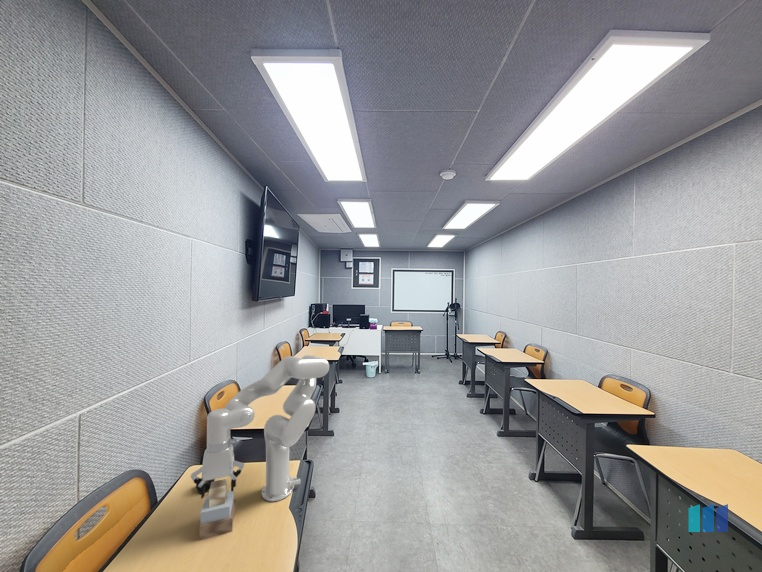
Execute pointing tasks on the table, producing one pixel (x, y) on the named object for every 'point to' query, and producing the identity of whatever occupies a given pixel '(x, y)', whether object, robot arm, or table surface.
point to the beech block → (218, 493)
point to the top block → (217, 509)
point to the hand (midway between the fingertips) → (218, 492)
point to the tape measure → (206, 484)
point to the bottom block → (217, 526)
